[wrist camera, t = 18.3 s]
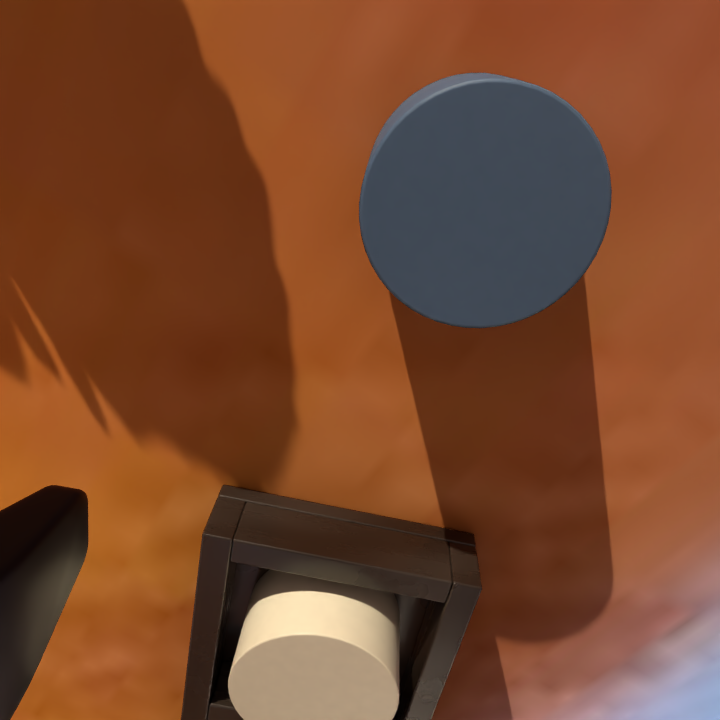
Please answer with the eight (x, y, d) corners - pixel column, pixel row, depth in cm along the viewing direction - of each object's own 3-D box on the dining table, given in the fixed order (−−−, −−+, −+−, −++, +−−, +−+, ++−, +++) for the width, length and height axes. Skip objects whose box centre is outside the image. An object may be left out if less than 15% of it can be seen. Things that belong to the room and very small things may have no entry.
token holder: (474, 533, 21) (483, 588, 19) (375, 807, 28) (372, 871, 26) (222, 483, 21) (202, 533, 19) (185, 773, 28) (167, 835, 25)
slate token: (605, 98, 15) (653, 110, 12) (535, 300, 17) (562, 350, 14) (390, 50, 15) (388, 50, 12) (348, 261, 17) (338, 303, 14)
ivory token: (415, 571, 21) (417, 653, 18) (381, 674, 23) (379, 762, 20) (260, 540, 21) (237, 619, 18) (242, 648, 23) (219, 733, 20)
